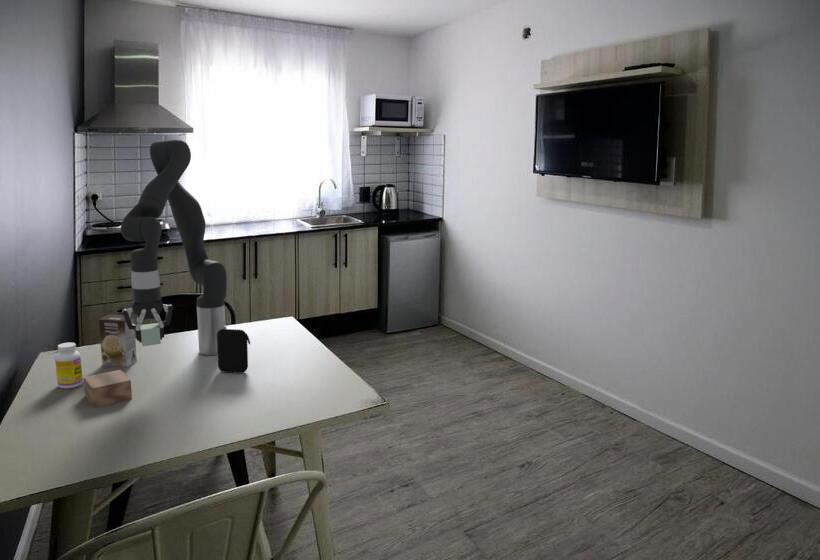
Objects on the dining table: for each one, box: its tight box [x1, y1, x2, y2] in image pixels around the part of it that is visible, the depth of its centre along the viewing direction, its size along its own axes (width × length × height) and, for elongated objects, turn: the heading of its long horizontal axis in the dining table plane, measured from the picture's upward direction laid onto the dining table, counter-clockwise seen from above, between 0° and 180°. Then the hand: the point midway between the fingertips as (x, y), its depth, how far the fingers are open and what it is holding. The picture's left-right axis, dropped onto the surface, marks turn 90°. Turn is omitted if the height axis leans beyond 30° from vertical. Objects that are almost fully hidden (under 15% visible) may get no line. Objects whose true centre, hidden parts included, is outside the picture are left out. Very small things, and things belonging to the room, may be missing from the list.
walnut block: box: [83, 369, 133, 408], centre depth 170 cm, size 10×10×6 cm
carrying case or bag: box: [217, 328, 251, 373], centre depth 190 cm, size 11×3×15 cm, turn 89°
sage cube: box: [140, 322, 162, 347], centre depth 174 cm, size 5×5×5 cm
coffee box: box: [98, 313, 138, 368], centre depth 195 cm, size 9×6×16 cm
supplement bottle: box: [54, 342, 84, 389], centre depth 176 cm, size 7×7×13 cm
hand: (150, 340), depth 174 cm, fingers closed on sage cube, 5 cm apart
